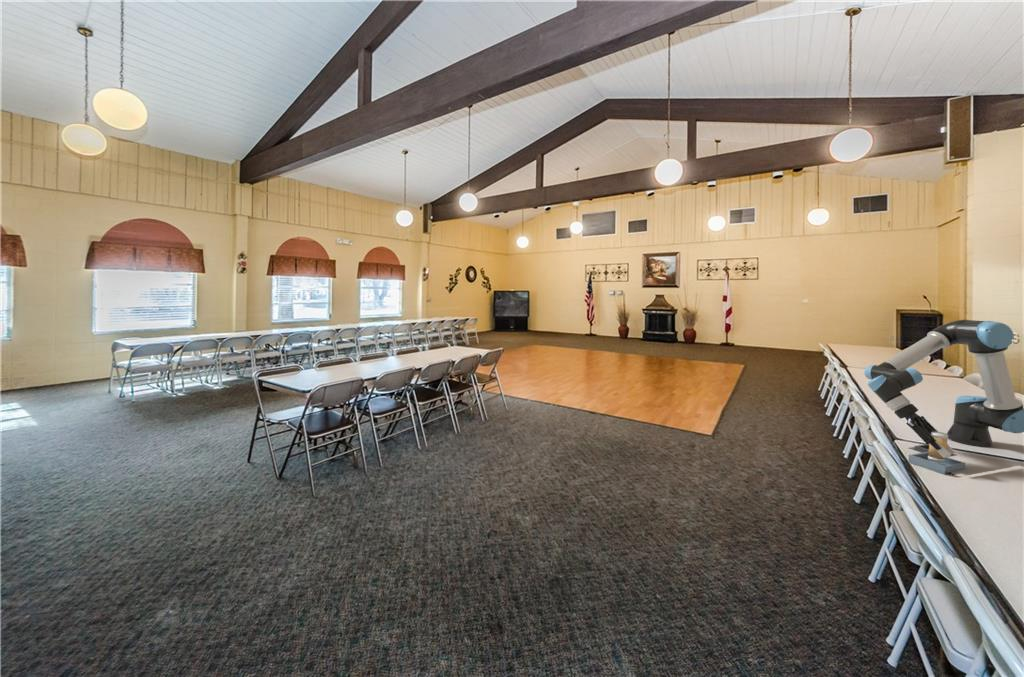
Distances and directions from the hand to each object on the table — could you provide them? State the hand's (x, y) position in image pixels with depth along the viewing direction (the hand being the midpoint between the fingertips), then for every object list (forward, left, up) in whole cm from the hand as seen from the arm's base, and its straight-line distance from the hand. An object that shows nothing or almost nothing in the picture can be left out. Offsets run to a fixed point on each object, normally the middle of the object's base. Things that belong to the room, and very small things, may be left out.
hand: (949, 455), depth 169 cm
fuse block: (-15, -14, -7) cm, 21 cm away
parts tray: (+1, -4, -7) cm, 7 cm away
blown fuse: (+1, -4, -4) cm, 5 cm away
